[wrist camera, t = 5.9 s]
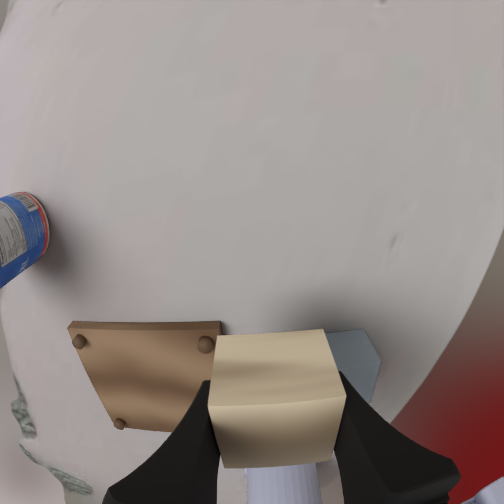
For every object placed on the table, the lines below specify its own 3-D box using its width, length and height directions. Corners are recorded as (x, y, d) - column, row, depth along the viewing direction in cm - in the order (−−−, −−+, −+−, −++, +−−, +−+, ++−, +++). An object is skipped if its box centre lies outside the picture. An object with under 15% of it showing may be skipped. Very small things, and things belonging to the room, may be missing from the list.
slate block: (354, 371, 23) (368, 406, 19) (301, 378, 23) (308, 415, 19) (363, 328, 21) (381, 362, 17) (304, 334, 21) (314, 371, 17)
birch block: (316, 398, 14) (330, 460, 10) (228, 404, 14) (224, 468, 10) (322, 328, 13) (346, 395, 9) (217, 335, 13) (207, 405, 9)
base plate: (236, 425, 25) (236, 439, 23) (118, 418, 25) (113, 431, 23) (220, 320, 20) (218, 335, 19) (72, 321, 20) (63, 332, 19)
